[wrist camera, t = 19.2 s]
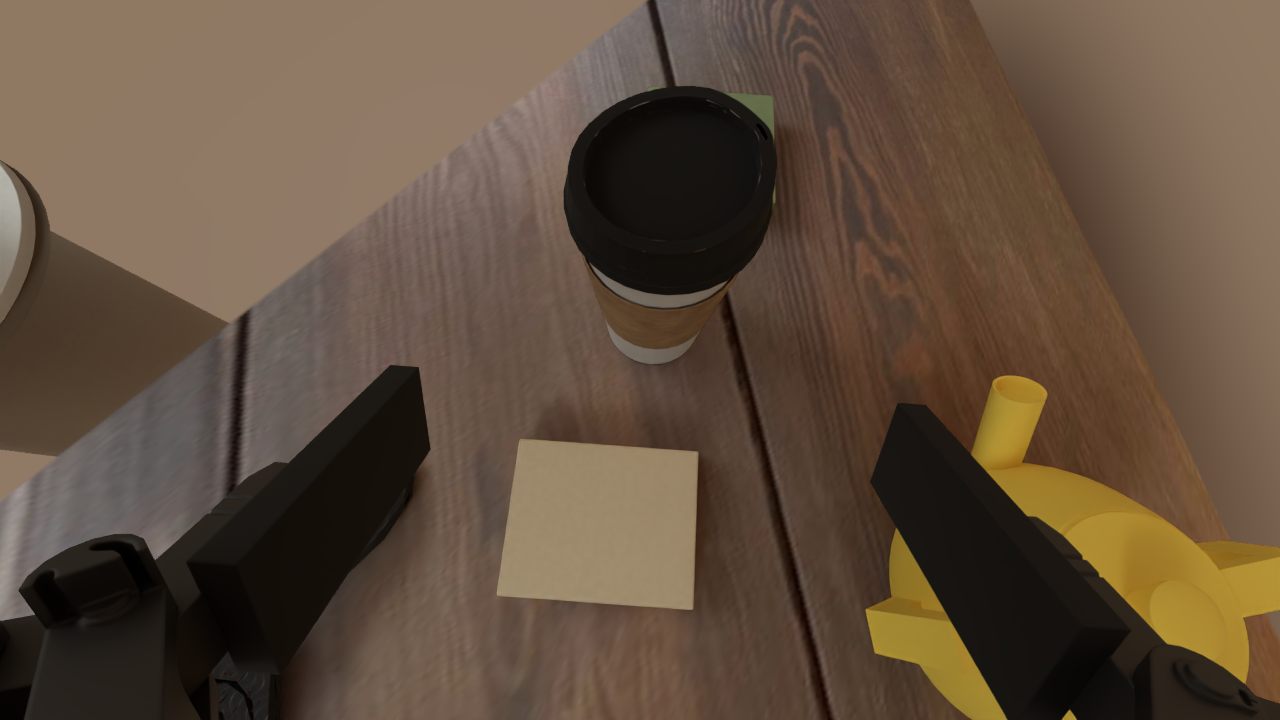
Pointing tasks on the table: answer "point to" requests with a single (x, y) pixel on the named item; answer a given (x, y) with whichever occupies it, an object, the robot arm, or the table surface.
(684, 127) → the coffee cup
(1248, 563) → the teapot
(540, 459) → the beige flat block
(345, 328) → the table surface
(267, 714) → the hairbrush
